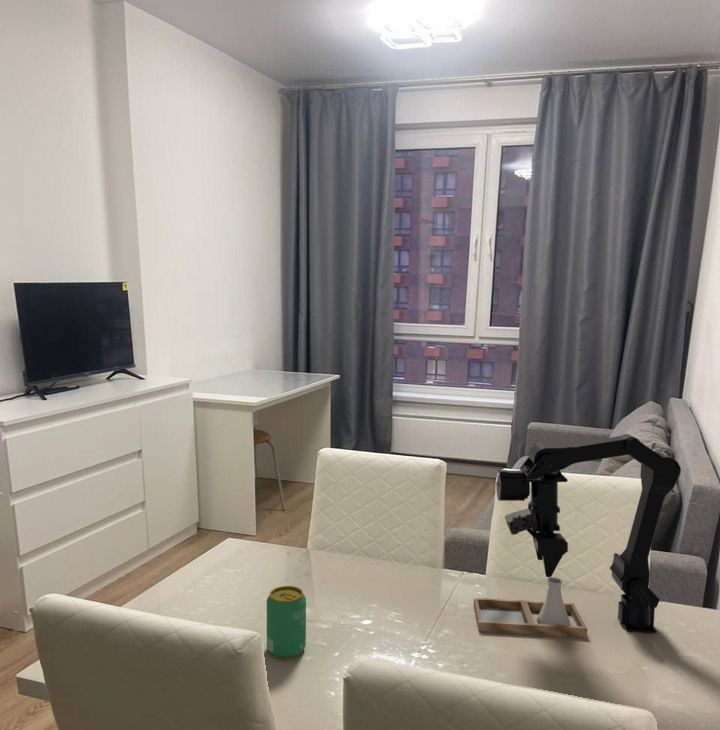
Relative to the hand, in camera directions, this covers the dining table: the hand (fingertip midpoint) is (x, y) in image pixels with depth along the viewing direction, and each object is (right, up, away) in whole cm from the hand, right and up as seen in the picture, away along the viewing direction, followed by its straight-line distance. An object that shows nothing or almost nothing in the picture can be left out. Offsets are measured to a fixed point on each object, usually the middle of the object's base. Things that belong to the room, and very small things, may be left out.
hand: (544, 568), depth 135 cm
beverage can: (-57, -13, -12) cm, 59 cm away
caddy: (-4, -12, +1) cm, 13 cm away
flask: (+2, -13, 0) cm, 13 cm away
